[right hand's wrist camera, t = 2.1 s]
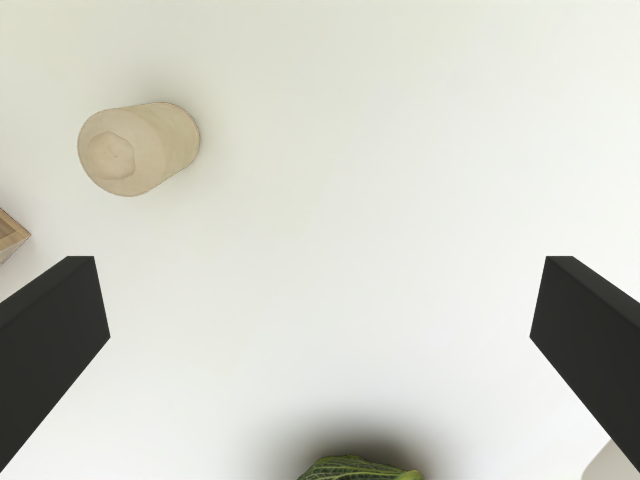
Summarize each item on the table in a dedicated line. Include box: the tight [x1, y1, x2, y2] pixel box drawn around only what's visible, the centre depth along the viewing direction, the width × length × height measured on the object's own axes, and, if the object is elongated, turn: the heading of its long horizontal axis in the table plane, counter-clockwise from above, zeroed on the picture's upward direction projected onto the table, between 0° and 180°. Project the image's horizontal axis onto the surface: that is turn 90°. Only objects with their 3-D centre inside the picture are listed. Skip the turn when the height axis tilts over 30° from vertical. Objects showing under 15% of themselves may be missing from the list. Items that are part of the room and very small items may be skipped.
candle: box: [77, 103, 200, 197], centre depth 30 cm, size 6×6×10 cm
